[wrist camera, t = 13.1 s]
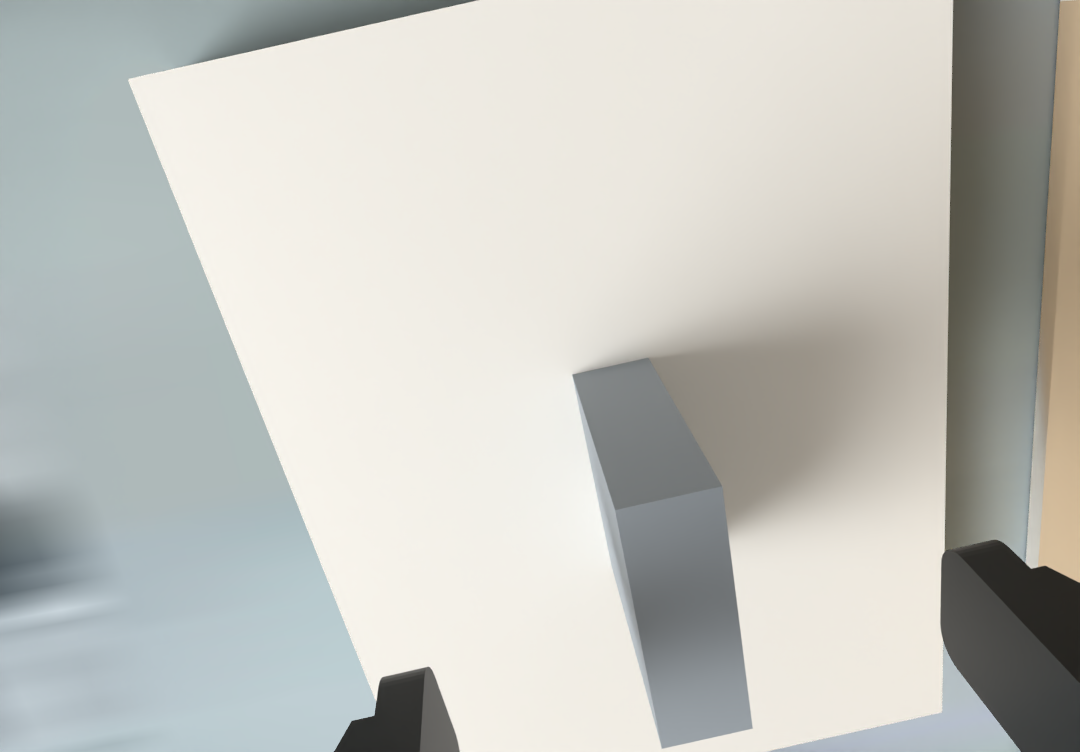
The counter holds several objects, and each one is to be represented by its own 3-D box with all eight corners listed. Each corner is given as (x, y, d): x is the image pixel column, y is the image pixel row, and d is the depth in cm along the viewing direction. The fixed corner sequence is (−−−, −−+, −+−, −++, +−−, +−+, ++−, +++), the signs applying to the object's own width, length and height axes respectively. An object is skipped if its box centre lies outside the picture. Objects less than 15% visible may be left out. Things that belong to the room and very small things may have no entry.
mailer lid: (178, 74, 15) (-58, 99, 8) (881, -85, 15) (1223, -190, 8) (430, 749, 23) (414, 1049, 16) (894, 645, 23) (1076, 902, 16)
